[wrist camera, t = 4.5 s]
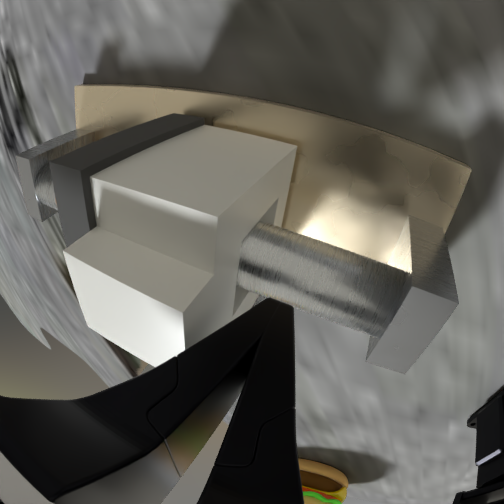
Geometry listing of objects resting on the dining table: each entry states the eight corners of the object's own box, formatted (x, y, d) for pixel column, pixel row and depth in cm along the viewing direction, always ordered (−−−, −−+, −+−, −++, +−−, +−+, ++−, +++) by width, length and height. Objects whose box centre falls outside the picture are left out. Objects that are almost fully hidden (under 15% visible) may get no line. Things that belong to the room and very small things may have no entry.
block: (205, 118, 12) (80, 170, 7) (198, 252, 16) (117, 338, 11) (173, 113, 12) (49, 161, 7) (172, 243, 17) (90, 321, 12)
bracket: (297, 145, 11) (180, 252, 5) (271, 275, 15) (190, 406, 9) (204, 124, 12) (50, 198, 6) (198, 248, 16) (98, 352, 10)
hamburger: (260, 467, 36) (235, 517, 29) (270, 441, 29) (237, 508, 22) (340, 490, 33) (320, 542, 26) (373, 470, 26) (351, 539, 19)
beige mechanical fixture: (468, 165, 10) (511, 227, 6) (390, 324, 15) (378, 409, 11) (82, 84, 14) (7, 106, 10) (93, 212, 20) (37, 252, 16)
